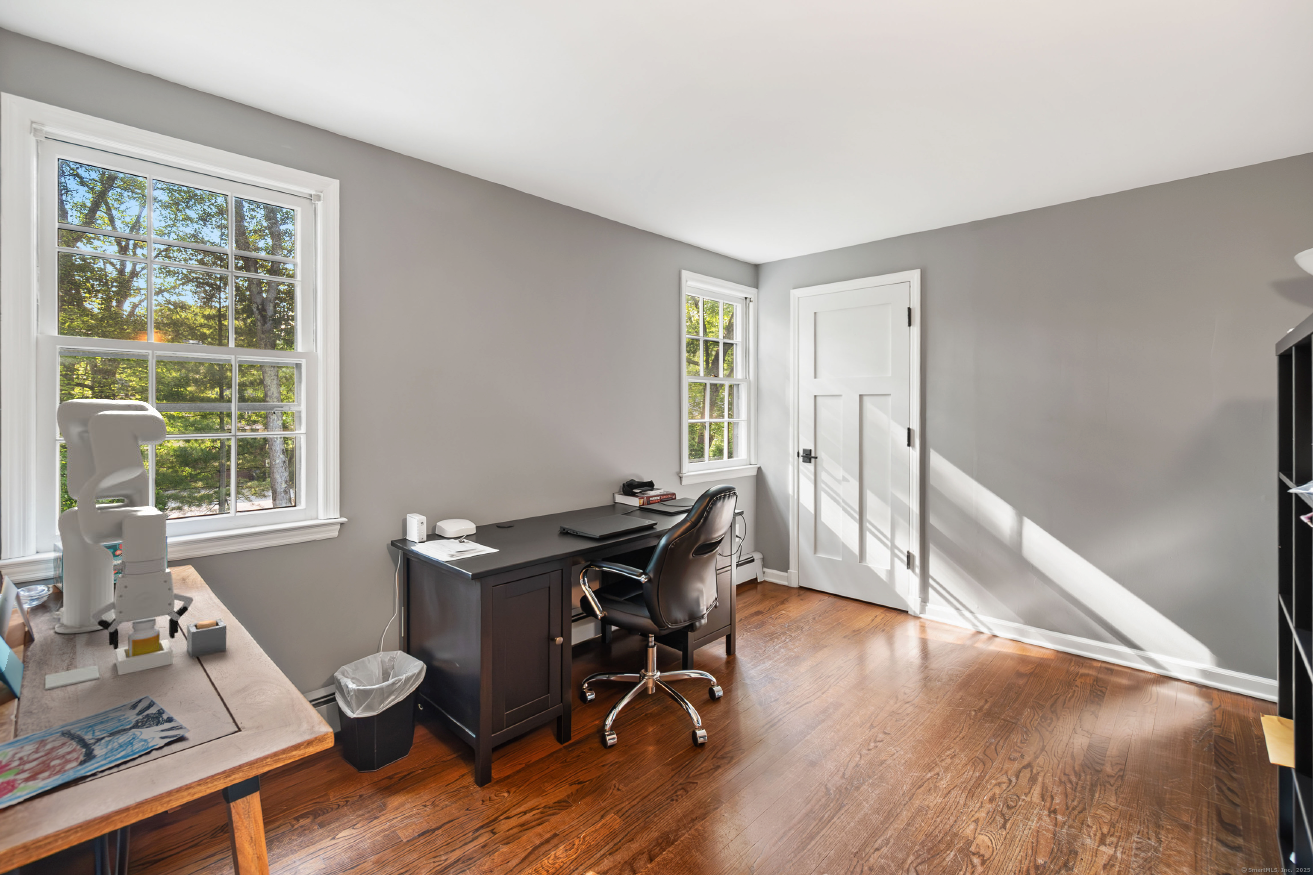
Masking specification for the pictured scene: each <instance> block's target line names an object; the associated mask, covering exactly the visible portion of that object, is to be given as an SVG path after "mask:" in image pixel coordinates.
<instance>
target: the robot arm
mask: <svg viewBox="0 0 1313 875" xmlns="http://www.w3.org/2000/svg"><path fill="white" fill-rule="evenodd" d="M56 421H57V422H56V423H57V426H58V429H59V431H60V434H61V436H62V439H63V440H64V442H65V446H66V451H67V453H66V455H67V456H66V460H67V461H66V488H67V492H68V495H69V497H70V498H72V499H73V500H76V506H75V507H71V508H69V509H66V510H65V511H63V512H62V513H60V515H59V517H58V519H57V520H58V521H57V522H58V524H57V526H58V530H59V532H58V533H59V537H60V540H61V547H62V558H63V559H62V560H63V562H62V563H63V565H62V566H63V567H62V568H63V570H62V571H63V572H62V574H63V577H62V579H63V588H62V589H63V590H62V591H63V592H62V593H63V594H62V595H63V599H62V600H63V607H61V608H59V610H58V611H55V612H54V613H53V614H52V617H53V618H58V619H59V618H60V620H59V621H60V622H59V623H57V624H56V625H55V626H54V631H55V632H56V633H59V634H80V633H88V632H94V631H98V630H103V629H104V630H106V631H107V632H108V646H112V648H113V650H115V651H116V649H119V629H118V627H120V625H121V624H122V623H128V622H134V621H136V620H142V619H148V618H157V617H158V618H159V617H164V616H168V617H169V619H168V636H169V638H170V639H175V638H176V637H175V634H178V633H179V620H180V618H181V617H183V616H184V614H186V613H187V612H188V611H189V608H190V606H192V603H193V601H194V598H193V597H191V596H188V595H184V594H181V593H176V592H175V590H174V580H173V575H172V572H171V569H169V568H167V517H166V514H165V513H164V512H162V511H160V510H159V509H158V508H157V507H154V506H150V505H149V504H150V503H149V502H150V480H149V479H150V478H149V475H148V472H147V469H146V468H145V464H144V460H143V456H142V452H141V447H140V446H153V445H154V446H156V445H160V444H163V442H165V440H166V438H167V433H168V432H167V431H168V429H167V424H166V422H165V419H164V417H163V416H162V415H161V414H160V412H159V411H158V410H156V409H155V408H153V407H152V406H151V405H150V404H148V403H147V402H144V401H138V400H120V399H119V400H116V399H115V400H114V399H113V400H112V399H92V398H91V399H89V398H87V399H85V398H82V399H70V400H66V401H63V402H62V403H60V405H59V406H58V407H57V411H56ZM114 499H115V500H117V499H122V500H123V499H124V502H116V503H115V502H114V503H104V504H102V503H101V504H96V501H105V500H114ZM119 542H121V561H120V562H119V563H117V564H114V563H115V562H114V561H115V560H114V555H113V553H112V552H111V551H110V550H109V549H108V548H107V547H105V546H104V545H103V544H110V543H111V544H113V543H119ZM115 572H120V573H121V574H119V575H118V576H117V579H116V583H115V581H114V580H115V578H114V574H115ZM114 583H115V585H114ZM114 587H115V589H114ZM175 601H178V602H183V603H182V606H180V607H179V608H178V609H177V610H176V611H175Z"/></svg>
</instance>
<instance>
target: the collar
mask: <svg viewBox="0 0 1313 875" xmlns="http://www.w3.org/2000/svg"><path fill="white" fill-rule="evenodd" d="M173 655H174V654H173V649H172V646H171V644H170V642H169V640H168V639H163V640H160V651H159V652H154V653H149V654H144V655H139V656H134V657H129V658H128V646H125V647H121V648H117V649H115V665H116V670H117V673H118V676H121V675H126V674H130V673H135V672H136V673H137V672H141V671H145V670H149V669H153V668H154V669H155V668H160V667H164V666H168V665H172V664H173V663H174V662H173V658H174V657H173Z"/></svg>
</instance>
